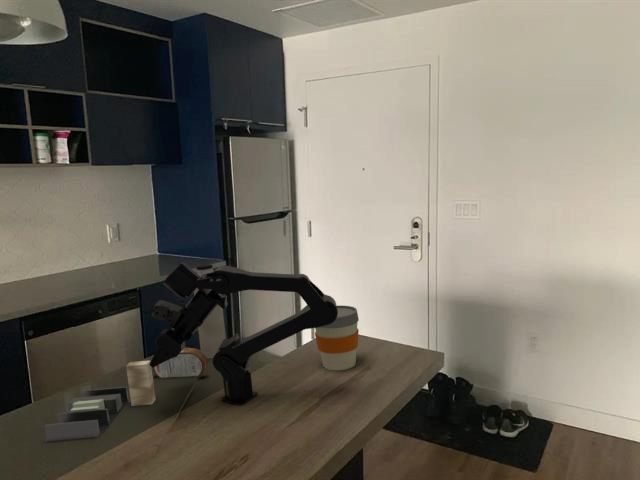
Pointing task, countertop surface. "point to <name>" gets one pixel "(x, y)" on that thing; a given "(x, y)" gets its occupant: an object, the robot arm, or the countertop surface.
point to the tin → (183, 364)
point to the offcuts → (88, 405)
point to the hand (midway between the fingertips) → (157, 359)
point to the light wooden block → (140, 383)
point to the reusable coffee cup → (339, 340)
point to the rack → (88, 415)
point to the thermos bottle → (211, 323)
